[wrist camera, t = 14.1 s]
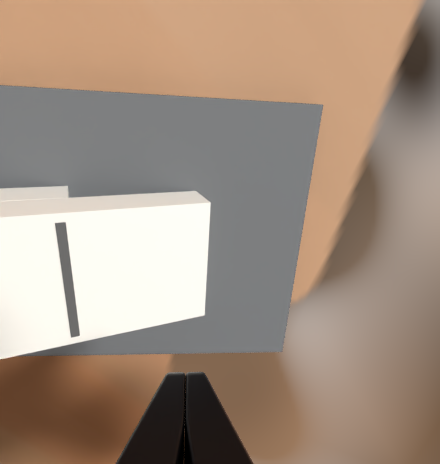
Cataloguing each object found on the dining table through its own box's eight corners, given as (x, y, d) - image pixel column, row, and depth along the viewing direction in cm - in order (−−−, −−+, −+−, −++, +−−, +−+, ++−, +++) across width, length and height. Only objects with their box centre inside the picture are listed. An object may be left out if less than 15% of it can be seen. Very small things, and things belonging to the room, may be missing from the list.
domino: (204, 315, 14) (-103, 382, 10) (192, 294, 15) (-83, 346, 11) (210, 202, 12) (-168, 229, 8) (195, 190, 13) (-134, 208, 9)
